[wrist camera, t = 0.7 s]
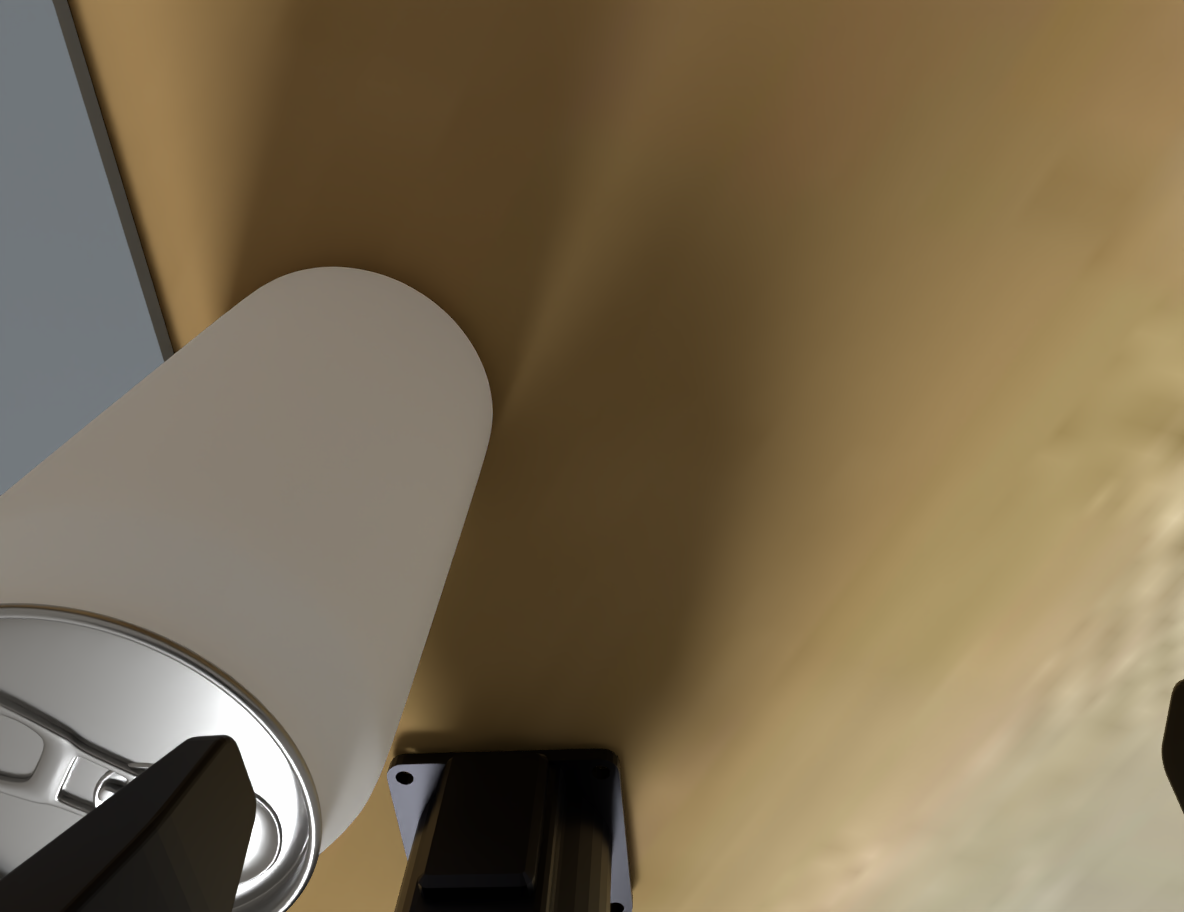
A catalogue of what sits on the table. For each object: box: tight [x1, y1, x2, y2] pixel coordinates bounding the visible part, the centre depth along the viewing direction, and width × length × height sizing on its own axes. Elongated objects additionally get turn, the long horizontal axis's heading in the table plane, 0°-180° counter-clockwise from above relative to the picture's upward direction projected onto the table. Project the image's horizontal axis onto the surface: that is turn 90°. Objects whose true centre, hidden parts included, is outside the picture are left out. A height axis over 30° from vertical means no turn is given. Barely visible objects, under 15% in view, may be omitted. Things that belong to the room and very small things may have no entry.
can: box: [0, 267, 493, 912], centre depth 16 cm, size 6×6×12 cm
